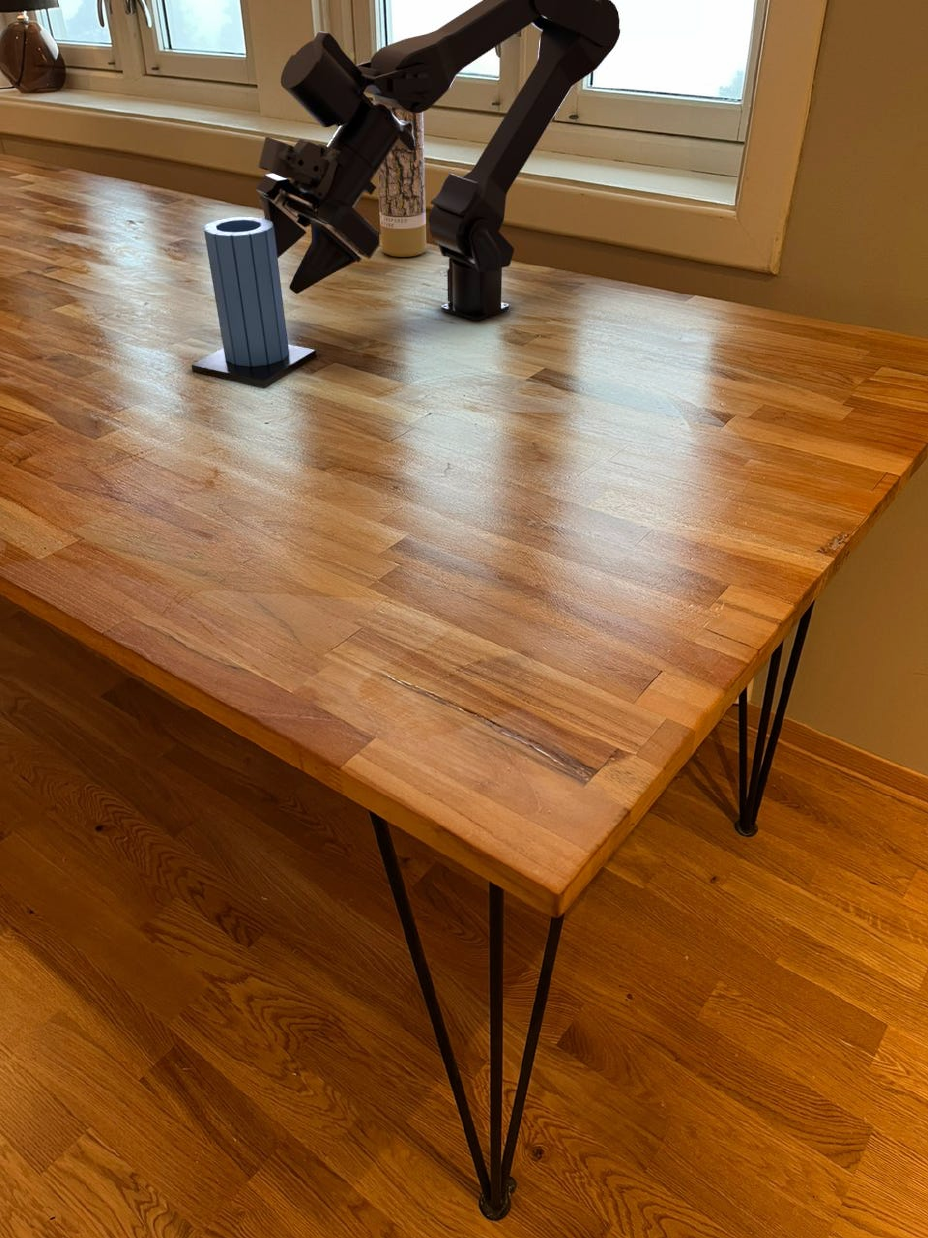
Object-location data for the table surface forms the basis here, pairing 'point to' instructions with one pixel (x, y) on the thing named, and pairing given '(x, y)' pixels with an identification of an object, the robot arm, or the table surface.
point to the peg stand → (256, 374)
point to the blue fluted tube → (247, 290)
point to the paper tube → (403, 193)
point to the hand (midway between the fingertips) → (274, 280)
